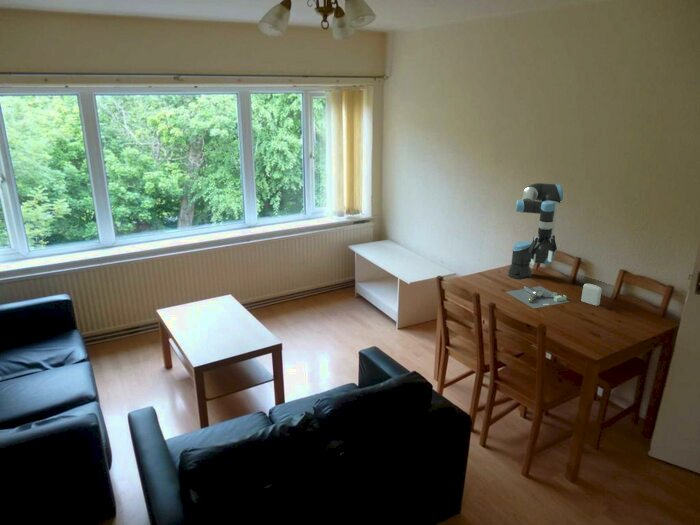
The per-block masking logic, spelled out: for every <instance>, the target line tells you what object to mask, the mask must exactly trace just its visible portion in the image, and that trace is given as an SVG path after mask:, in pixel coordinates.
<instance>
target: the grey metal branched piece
mask: <svg viewBox="0 0 700 525" xmlns="http://www.w3.org/2000/svg"><path fill="white" fill-rule="evenodd" d="M522 289H524V290H525V291H527V292H529V293H531V294H532V295H531V296H530V297H529V299H528V301H529V302H533V301H534V300H535V299H536V298H542V297H551V298H554V296H559V295H560V294H559V293H558V292H555V291H554V292H553V291H551V292H543V291H541V290H535V289H533V288H532V287H530V286H529V285H524V286H523V288H522Z"/></svg>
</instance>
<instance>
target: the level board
mask: <svg viewBox="0 0 700 525" xmlns="http://www.w3.org/2000/svg"><path fill="white" fill-rule="evenodd" d="M531 288H533V289H535V290H541V291H543V292H552V291H550V290H549V289H547V288H545V287H542V286H540V285H539V286H533V287H531ZM505 293H507V294H508V295H510V296H511V297H513V298H514V299H515V298H516V299H517V300H518V301H519V302H522V303H524V304H525V305H527V306H528V307H531V308H532V309H537V308H538V309H539V308H543V307H549V306H554V305H560V304H565V303H570V302H571V301H570V300H568V299H567V295H565V294H559V296H554V298H551V297H542V298H536V299H535V300H534V301H533V302H529V301H528V299H529V297H530V296H531V295H532V294H531V293H529V292H527V291H525V290H524V288H521V289H515V290H510V291H505Z"/></svg>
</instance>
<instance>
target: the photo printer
mask: <svg viewBox="0 0 700 525" xmlns="http://www.w3.org/2000/svg"><path fill="white" fill-rule="evenodd" d="M602 290H603V289H602V287H600V286H599V285H596V284H593V283H584V285H583V286H582V292H581V298H580V300H581V302H583V303H586V304H589V305H594V306H600V304H601V297H602Z"/></svg>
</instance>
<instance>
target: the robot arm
mask: <svg viewBox="0 0 700 525" xmlns="http://www.w3.org/2000/svg"><path fill="white" fill-rule="evenodd" d="M557 184H558V183H545V182H544V183H540V182H539V183H538V182H536V183H533V184H530V185H528V186H526V187H525V188H524V190H523V191H522V198H521V199H517V200H516V204H515V212H516V213H525V214H536V215H537V214H539V220H538V221H539V222H538V231H537V235H538V236H533V239H532V241H529V240H528V241H527V240H522V241H516V242H514V244H513V246H512V256H511V257H512V258H511V263H510V266H509V269H508V271H507V276H508V277H510V278H511V279H515V280H516V279H517V280H525V279H530V278H532V270H531V265H533V266H534V265H535V264H542V265H552V264H553V262H554V259H555V256H556V252H557V250H558V248H557V242H556V235H555V234H554V233H555V225H556V219H557V210H558V207H559V206H560V205H561V202H560V201H562V200H563V201H564V190H563V188H564V187H563V186H562V187H563V188H562V187H561V186H560V185H561V184H559V185H557Z"/></svg>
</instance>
